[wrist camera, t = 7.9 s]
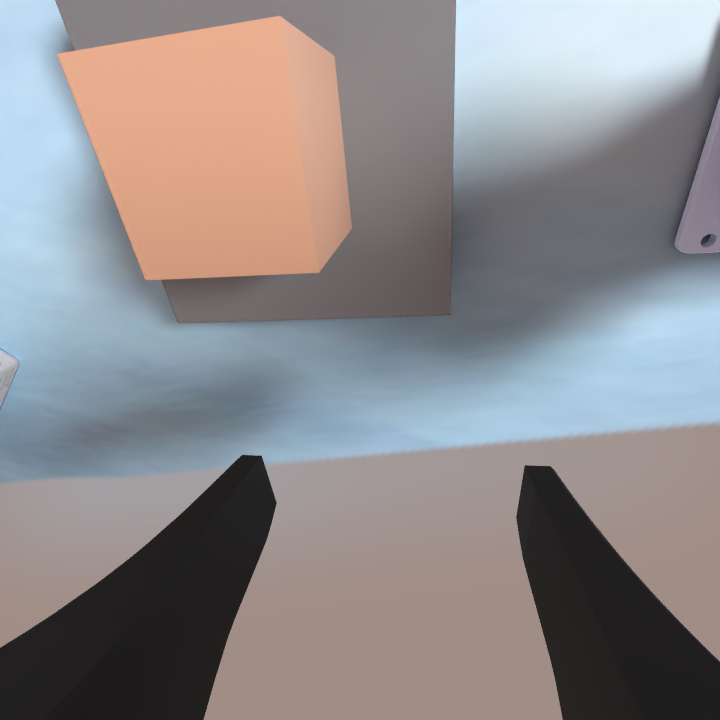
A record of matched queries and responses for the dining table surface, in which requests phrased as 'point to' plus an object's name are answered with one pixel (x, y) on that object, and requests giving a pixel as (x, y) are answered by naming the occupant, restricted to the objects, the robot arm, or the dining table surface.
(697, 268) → the dining table surface
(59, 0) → the grey square slab
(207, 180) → the terracotta block
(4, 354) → the light bulb box
